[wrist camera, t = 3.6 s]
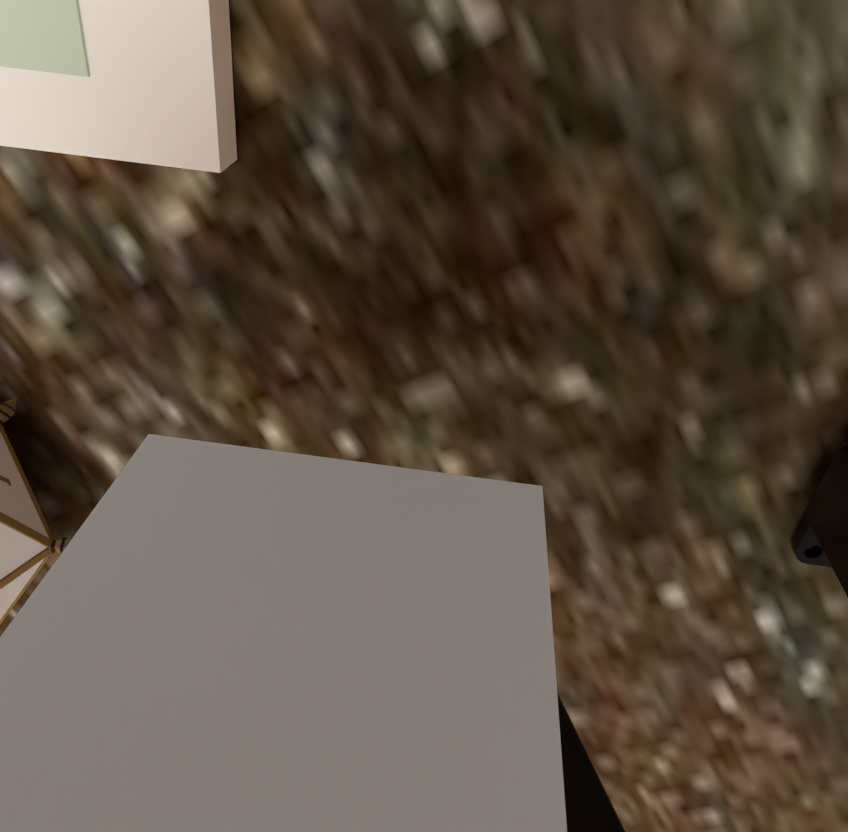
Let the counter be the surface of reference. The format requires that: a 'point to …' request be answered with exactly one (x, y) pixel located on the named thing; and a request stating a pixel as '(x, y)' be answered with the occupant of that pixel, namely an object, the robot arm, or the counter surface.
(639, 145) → the counter surface
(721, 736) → the counter surface
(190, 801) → the grey cube
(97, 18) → the plate
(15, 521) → the game die
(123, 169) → the counter surface
